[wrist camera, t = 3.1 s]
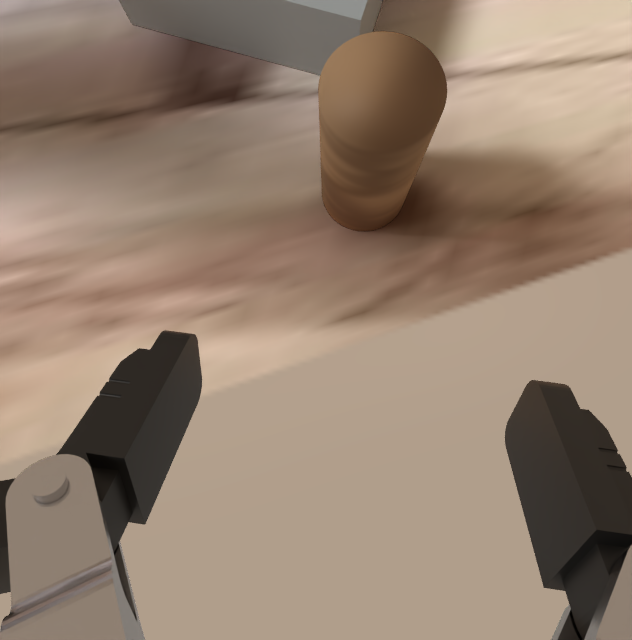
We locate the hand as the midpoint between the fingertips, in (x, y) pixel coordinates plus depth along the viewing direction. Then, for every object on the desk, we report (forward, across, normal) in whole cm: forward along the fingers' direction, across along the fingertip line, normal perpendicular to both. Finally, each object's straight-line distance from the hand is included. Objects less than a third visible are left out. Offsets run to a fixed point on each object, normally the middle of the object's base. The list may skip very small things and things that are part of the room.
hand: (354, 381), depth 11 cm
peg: (+18, 0, +2) cm, 18 cm away
